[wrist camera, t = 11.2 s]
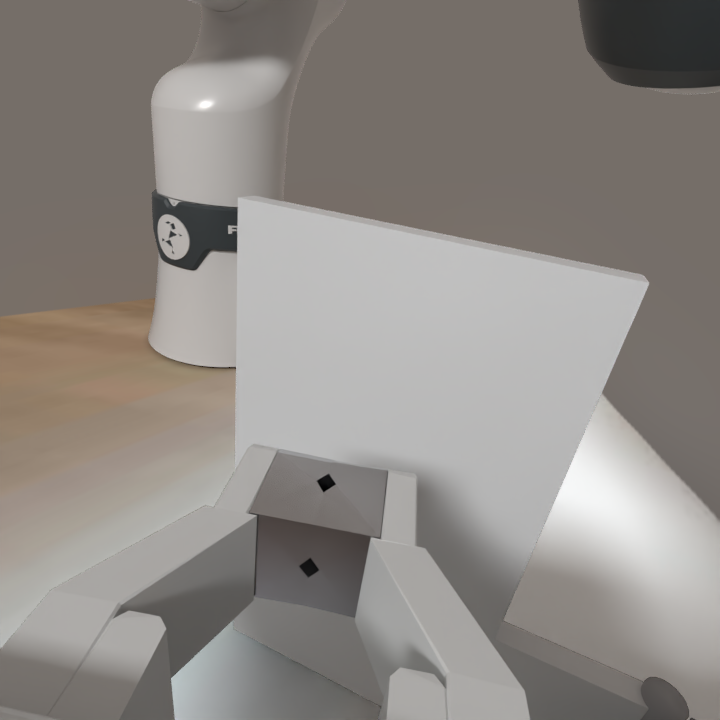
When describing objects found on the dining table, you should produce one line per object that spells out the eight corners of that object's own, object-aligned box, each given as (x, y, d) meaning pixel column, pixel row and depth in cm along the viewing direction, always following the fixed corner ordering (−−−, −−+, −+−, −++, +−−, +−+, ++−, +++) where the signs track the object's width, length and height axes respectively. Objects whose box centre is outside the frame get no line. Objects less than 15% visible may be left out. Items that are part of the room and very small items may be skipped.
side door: (599, 792, 17) (965, 338, 8) (601, 833, 16) (1022, 362, 7) (246, 612, 21) (258, 195, 13) (230, 635, 20) (233, 197, 12)
